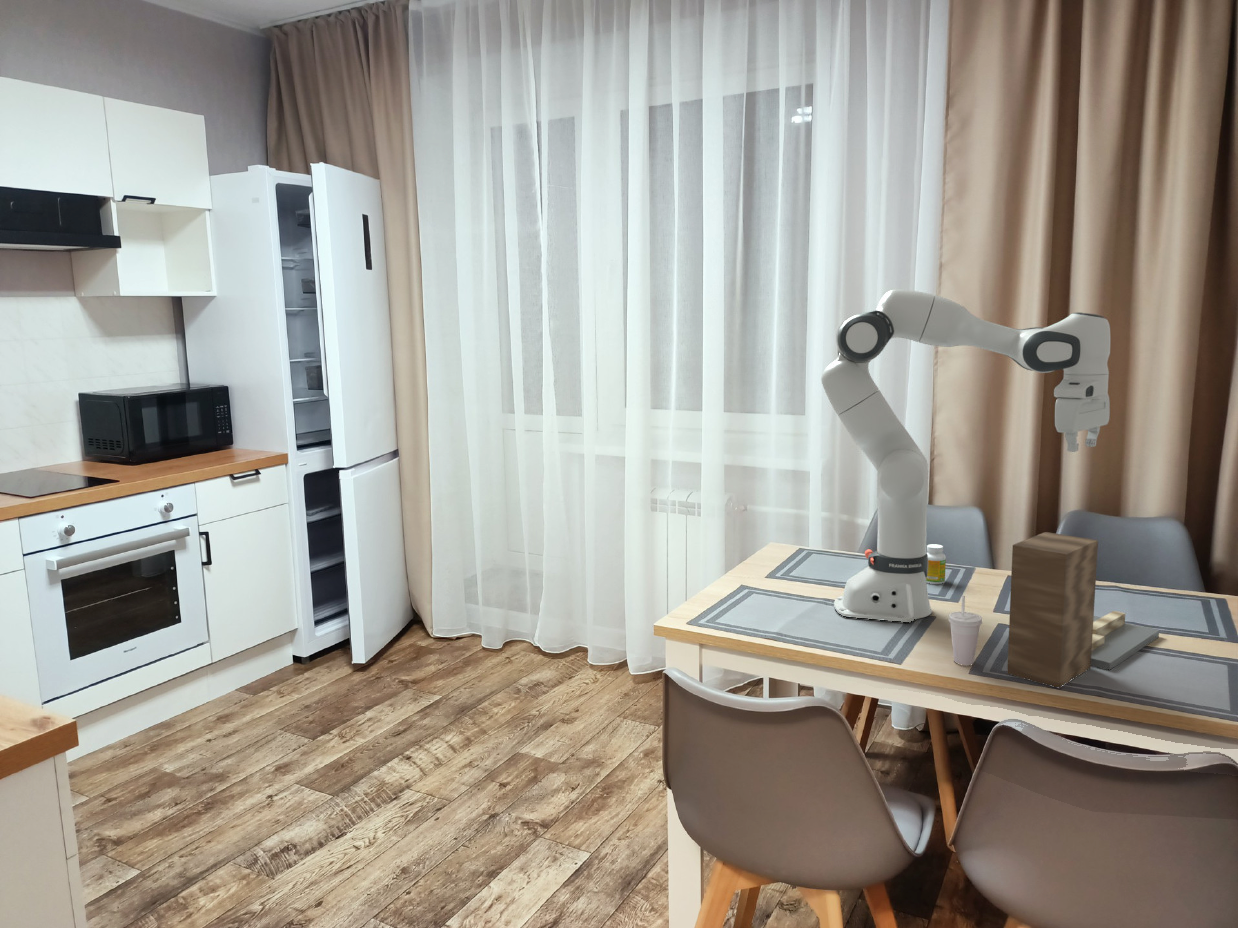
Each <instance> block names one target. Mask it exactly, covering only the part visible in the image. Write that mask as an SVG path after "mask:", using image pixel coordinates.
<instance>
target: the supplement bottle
mask: <svg viewBox="0 0 1238 928" xmlns="http://www.w3.org/2000/svg"><path fill="white" fill-rule="evenodd" d="M943 552H944V546H943V545H941V544H935V543H931V544H928V545H927V544H926V553H927V555H928V573H927V577H926V583H927V584H929V583H930V585H942V583H943V584H945V582H946V566H947V565H946V560H947V557H946V555H945V553H943Z"/></svg>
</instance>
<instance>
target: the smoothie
mask: <svg viewBox="0 0 1238 928" xmlns="http://www.w3.org/2000/svg"><path fill="white" fill-rule="evenodd" d="M965 600H966V595H962V596H961V611H953V612H951V613H950V614H948V621H949V623H950V631H951V632H950V633H951V643H952V644H951V645H952V652H953V653H952V654H953V662H954V661H955V662H956V663H959V664H962V665H961V666H963V665H970V666H972V665H971V664H973V663H975V658H976V651H977V646H978V641H979V634H980V629H981V625H982V624H983V617H982V616H981V615H979V614H977V613H974V612H968V611H965V609H966V607H965V606H966V605H965V603H966V601H965ZM955 662H954V663H955ZM956 663H955V664H956ZM973 665H974V664H973Z"/></svg>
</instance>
